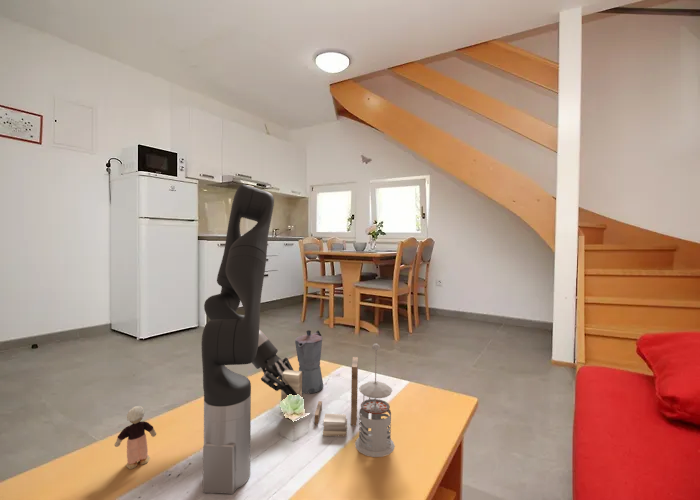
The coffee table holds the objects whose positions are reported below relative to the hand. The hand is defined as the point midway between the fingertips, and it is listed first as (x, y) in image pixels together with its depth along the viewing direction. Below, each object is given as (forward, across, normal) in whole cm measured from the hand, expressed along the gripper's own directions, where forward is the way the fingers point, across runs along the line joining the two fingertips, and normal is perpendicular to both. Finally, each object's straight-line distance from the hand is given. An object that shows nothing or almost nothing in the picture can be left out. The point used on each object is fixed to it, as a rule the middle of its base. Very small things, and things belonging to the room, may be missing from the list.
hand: (296, 394), depth 95 cm
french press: (+21, -6, -11) cm, 25 cm away
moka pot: (+3, +20, +7) cm, 21 cm away
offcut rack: (+13, +3, -3) cm, 13 cm away
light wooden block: (+2, 0, +5) cm, 5 cm away
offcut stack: (+14, -4, -4) cm, 15 cm away
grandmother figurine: (-14, -27, +24) cm, 39 cm away
